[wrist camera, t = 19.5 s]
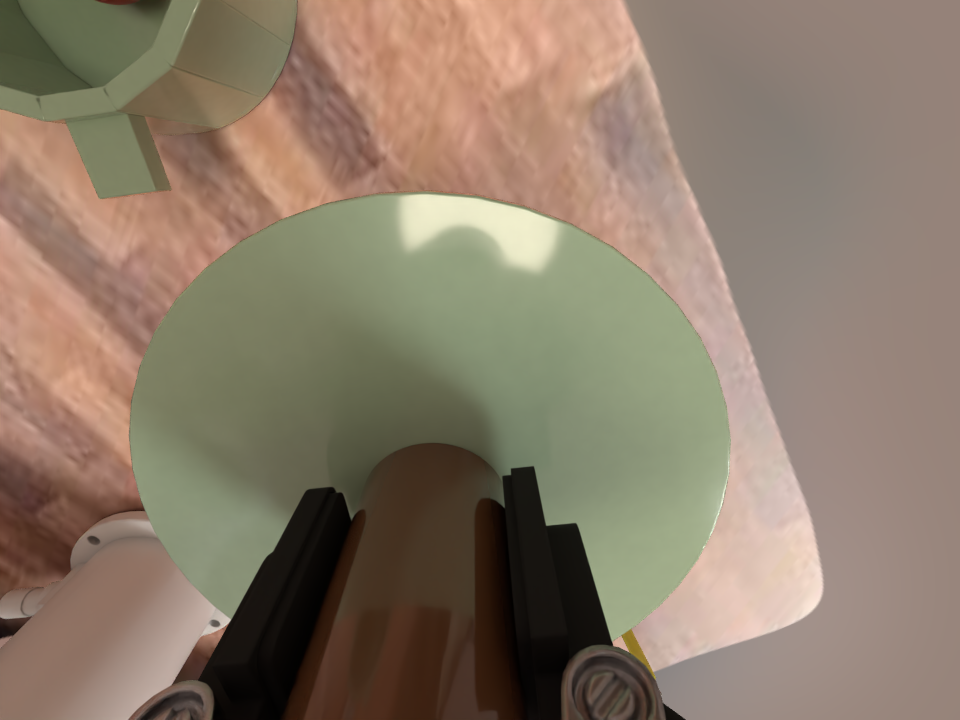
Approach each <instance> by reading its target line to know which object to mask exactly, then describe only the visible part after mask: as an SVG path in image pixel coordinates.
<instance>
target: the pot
mask: <svg viewBox="0 0 960 720" xmlns="http://www.w3.org/2000/svg"><path fill="white" fill-rule="evenodd" d="M296 15H297V0H140V1H138V2H135V3H132V4H127V5H111V4H105V3H101V2H98V1H95V0H0V109H2V110H5V111H9V112H12V113H16V114H20V115H23V116H27V117H30V118H34V119H37V120H41V121H45V122H54V123H62V124H67V126H68V129H69V131H70V133H71V136H72V138H73V140H74V142H75V145H76V147H77V149H78V152H79V154H80V156H81V158H82V161H83V163H84V165H85V168H86V170H87V172H88V174H89V177H90V179H91V181H92V184H93V186H94V188H95V190H96V193H97V195H98V197H99V199H109V198H120V197H128V196H135V195H142V194H149V193H156V192H164V191H171V190H172V189H171V186H170V183H169V181H168V178H167V175H166V173H165V170H164V167H163V165H162V162H161V159H160V156H159V154H158V151H157V148H156V146H155V143H154V140H153V138H152V135H151V134H159V135H167V136H172V135H179V134H193V133H203V132H207V131H212V130H216V129H220V128H222V127H224V126H227V125H229V124H231V123H233V122H235V121H237V120H238V119H240V118H242V117H243V116H245V115H246V114H248V113H249V112H250V111H251V110H252V109H253V108H255V107H256V106H257V105H258V104H259V103H260V102H261V101H262V100H263V98H264V97H265V96H266V95H267V94H268V92H269V91H270V90H271V88H272V87H273V85H274V84H275V82H276V80H277V79H278V77H279V75H280V73H281V71H282V69H283V66H284V64H285V62H286V59H287V57H288V54H289V50H290V47H291V43H292V39H293V35H294V29H295V22H296Z"/></svg>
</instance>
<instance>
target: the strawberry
mask: <svg viewBox="0 0 960 720" xmlns="http://www.w3.org/2000/svg"><path fill="white" fill-rule="evenodd" d="M95 1H98V2H101V3H105V4H111V5H127V4H132V3H135V2H138V1H140V0H95Z"/></svg>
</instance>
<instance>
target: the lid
mask: <svg viewBox="0 0 960 720" xmlns="http://www.w3.org/2000/svg"><path fill="white" fill-rule="evenodd" d="M129 441H130V450H131V460H132V469H133V473H134V477H135V481H136V484H137V488H138V492H139V495H140V499H141V502H142V505H143V507H144V509H145V511H146V514H147V516H148V518H149V521H150V523H151V525H152V528H153V530H154V532H155V533H156V535H157V537H158V538H159V540H160V542H161V543H162V545H163V547H164V548H165V550H166V552H167V553H168V555H169V556H170V558H171V559H172V561H173V562H174V563H175V564H176V566H177V567H178V568H179V569H180V571H181V572H182V573H183V574H184V576H185V577H186V578H187V579H188V581H189V582H190V583H191V584H192V585H193V586H194V587H195V588H196V589H197V590H198V591H199V592H200V593H201V594H202V595H203V596H204V597H205V598H206V599H207V600H208V601H209V602H210V603H211V604H212V605H213V606H214V607H216V608H217V609H218V610H220V611H221V612H222V613H223V614H225V615H226V616H227V617H228V618H230V619H232V617H233V616H234V614H235V612H236V610H237V608H238V606H239V605H240V603H241V601H242V599H243V597H244V595H245V594H246V592H247V590H248V588H249V586H250V584H251V583H252V581H253V579H254V577H255V575H256V574H257V572H258V570H259V568H260V566H261V564H262V563H263V561H264V560H265V558H266V557H267V556H268V555H269V554H270V553H272V552H273V551H274V549H275V547H276V545H277V543H278V541H279V539H280V538H281V536H282V534H283V532H284V530H285V528H286V526H287V524H288V523H289V521H290V519H291V517H292V515H293V513H294V511H295V510H296V508H297V506H298V504H299V502H300V500H301V498H302V496H303V495H304V493H305V492H306V490H308V489H313V488H323V487H334V488H335V490H336V492H342V493H343V495H344V497H345V501H346V504H347V507H348V511H349V514H350V518H351V524H350V527H349V529H348V532H347V535H346V538H345V541H344V543H343V546H342V549H341V552H340V555H339V557H338V560H337V563H336V566H335V569H334V572H333V574H332V577H331V580H330V583H329V586H328V588H327V591H326V594H325V597H324V600H323V602H322V605H321V608H320V611H319V614H318V616H317V619H316V622H315V625H314V628H313V631H312V633H311V636H310V639H309V642H308V645H307V647H306V650H305V653H304V656H303V659H302V661H301V664H300V667H299V670H298V673H297V675H296V678H295V681H294V684H293V687H292V690H291V692H290V695H289V698H288V701H287V704H286V706H285V709H284V712H283V715H282V718H281V720H529V716H528V706H527V699H526V695H525V691H524V689H523V687H522V679H521V671H520V663H519V655H518V646H517V637H516V627H515V617H514V605H513V594H512V583H511V571H510V560H509V549H508V538H507V526H506V515H505V504H504V493H503V481H502V476H505V475H511V468H520V467H530V466H534V468H535V473H536V478H537V483H538V488H539V493H540V498H541V503H542V508H543V513H544V518H545V523H546V526H549V525H559V524H569V523H576V524H577V525H578V528H579V531H580V534H581V538H582V541H583V544H584V548H585V551H586V555H587V558H588V561H589V565H590V568H591V572H592V575H593V578H594V582H595V585H596V589H597V592H598V596H599V599H600V602H601V606H602V609H603V613H604V616H605V619H606V623H607V626H608V630H609V633H610V637H611V640H612V641H614V640H615V639H617V638H618V637H620V636H621V635H623V634H624V633H626V632H627V631H629V630H630V629H632V628H633V627H635V626H636V625H638V624H639V623H640V622H641V621H642V620H643V619H645V618H646V617H647V616H648V615H649V614H651V613H652V612H653V611H654V610H655V609H656V608H658V607H659V606H660V605H661V604H662V603H663V602H664V601H665V600H666V599H667V597H668V596H669V595H670V594H671V593H672V592H673V591H674V590H675V589H676V588H677V587H678V586H679V585H680V583H681V582H682V581H683V579H684V578H685V577H686V575H687V574H688V573H689V571H690V570H691V568H692V567H693V566H694V564H695V563H696V562H697V560H698V558H699V557H700V555H701V553H702V551H703V549H704V547H705V545H706V544H707V542H708V540H709V538H710V536H711V534H712V532H713V530H714V527H715V524H716V521H717V519H718V516H719V513H720V511H721V508H722V505H723V501H724V496H725V491H726V487H727V482H728V477H729V467H730V445H731V439H730V430H729V422H728V414H727V406H726V402H725V399H724V395H723V392H722V388H721V385H720V382H719V378H718V375H717V371H716V369H715V367H714V365H713V363H712V361H711V359H710V357H709V355H708V353H707V350H706V348H705V346H704V344H703V342H702V340H701V338H700V336H699V335H698V333H697V332H696V331H695V329H694V328H693V326H692V325H691V323H690V322H689V321H688V319H687V318H686V316H685V315H684V313H683V312H682V310H681V309H680V308H679V306H678V305H677V304H676V303H675V302H674V301H673V299H672V298H671V297H670V296H669V295H668V294H667V293H666V292H665V291H664V290H663V289H662V288H661V287H660V286H659V285H658V284H657V283H656V282H655V281H654V280H653V279H652V278H651V277H650V275H649V274H647V273H646V272H645V271H643V270H642V269H641V268H640V267H638V266H637V265H636V264H634V263H633V262H632V261H630V260H629V259H628V258H627V257H625V256H624V255H623V254H621V253H620V252H619V251H617V250H616V249H615V248H614V247H612V246H610V245H608V244H607V243H605V242H603V241H601V240H599V239H598V238H596V237H594V236H592V235H591V234H589V233H587V232H585V231H583V230H582V229H580V228H578V227H576V226H574V225H573V224H571V223H569V222H566V221H564V220H561V219H559V218H556V217H553V216H551V215H548V214H546V213H543V212H540V211H538V210H535V209H532V208H530V207H527V206H525V205H521V204H516V203H512V202H508V201H503V200H499V199H495V198H490V197H486V196H482V195H477V194H466V193H455V192H443V191H432V190H423V191H404V192H385V193H376V194H371V195H366V196H361V197H356V198H351V199H346V200H340V201H335V202H330V203H326V204H323V205H320V206H318V207H315V208H312V209H309V210H306V211H303V212H301V213H298V214H295V215H292V216H289V217H287V218H284V219H281V220H279V221H277V222H275V223H274V224H272V225H270V226H268V227H266V228H264V229H262V230H261V231H259V232H257V233H255V234H253V235H251V236H249V237H247V238H246V239H244V240H242V241H240V242H239V243H238V244H236V245H235V246H234V247H232V248H231V249H230V250H228V251H227V252H226V253H224V254H223V255H222V256H220V257H219V258H218V259H217V260H215V261H214V262H213V263H211V264H210V265H209V266H207V267H206V268H205V269H204V270H203V271H202V272H201V273H200V274H199V275H198V276H197V277H196V278H195V280H194V281H193V282H192V283H191V284H190V285H189V286H188V287H187V288H186V289H185V290H184V291H183V292H182V293H181V294H180V295H179V297H178V298H177V299H176V300H175V302H174V303H173V305H172V306H171V308H170V309H169V311H168V312H167V314H166V315H165V317H164V318H163V320H162V321H161V323H160V324H159V326H158V328H157V329H156V331H155V332H154V335H153V337H152V339H151V342H150V344H149V346H148V348H147V351H146V353H145V355H144V358H143V360H142V362H141V365H140V367H139V371H138V375H137V379H136V384H135V388H134V392H133V396H132V400H131V413H130V428H129Z"/></svg>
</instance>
